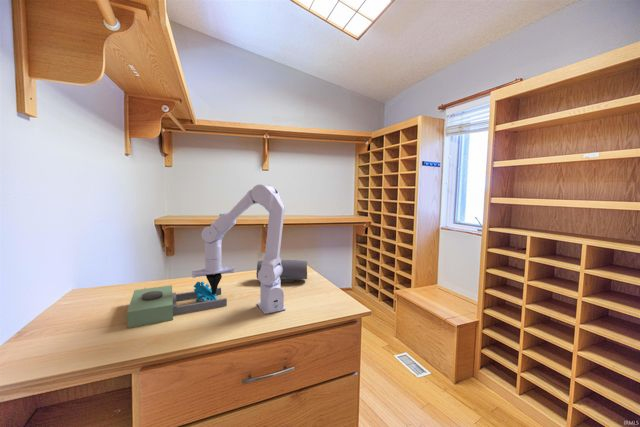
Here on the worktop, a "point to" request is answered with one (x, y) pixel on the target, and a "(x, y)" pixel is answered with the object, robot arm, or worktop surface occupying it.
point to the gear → (204, 292)
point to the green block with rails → (164, 305)
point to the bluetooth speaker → (290, 270)
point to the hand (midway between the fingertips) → (213, 293)
